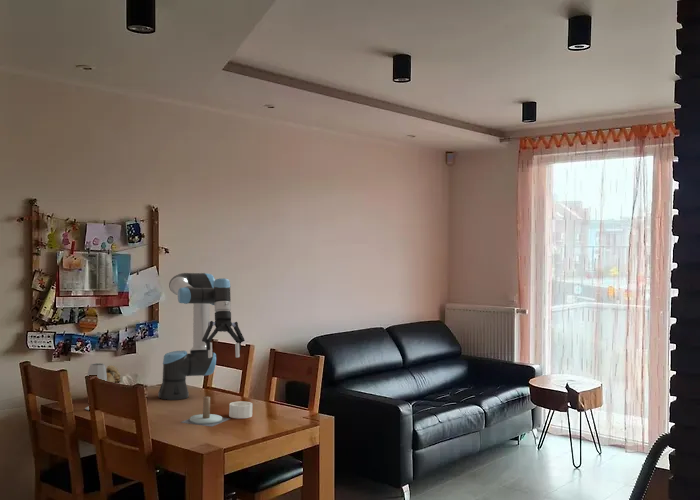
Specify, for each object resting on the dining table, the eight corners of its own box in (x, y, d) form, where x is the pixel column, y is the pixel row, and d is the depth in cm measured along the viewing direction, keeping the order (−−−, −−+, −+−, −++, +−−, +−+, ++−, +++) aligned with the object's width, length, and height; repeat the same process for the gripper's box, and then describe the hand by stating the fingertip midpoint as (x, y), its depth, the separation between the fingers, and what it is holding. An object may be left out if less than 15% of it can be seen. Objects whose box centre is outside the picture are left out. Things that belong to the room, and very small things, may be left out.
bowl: (236, 412, 309) (236, 400, 309) (256, 415, 306) (256, 402, 306) (224, 417, 299) (225, 404, 299) (245, 420, 296) (245, 407, 296)
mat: (200, 415, 302) (200, 414, 302) (231, 419, 296) (231, 418, 296) (180, 423, 287) (180, 422, 287) (212, 427, 281) (212, 426, 281)
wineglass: (81, 409, 305) (83, 364, 305) (95, 406, 313) (97, 362, 313) (96, 412, 301) (98, 366, 302) (109, 408, 309) (111, 363, 310)
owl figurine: (94, 396, 335) (96, 362, 336) (119, 395, 340) (121, 362, 340) (94, 403, 319) (96, 368, 319) (120, 402, 323) (122, 367, 323)
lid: (201, 415, 300) (201, 393, 301) (227, 418, 296) (228, 396, 296) (183, 422, 287) (184, 398, 287) (211, 425, 282) (212, 401, 283)
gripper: (200, 308, 296) (201, 356, 290) (250, 311, 311) (252, 356, 305) (194, 312, 302) (195, 358, 296) (243, 314, 316) (245, 358, 311)
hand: (224, 357), depth 301 cm, fingers open, 13 cm apart
